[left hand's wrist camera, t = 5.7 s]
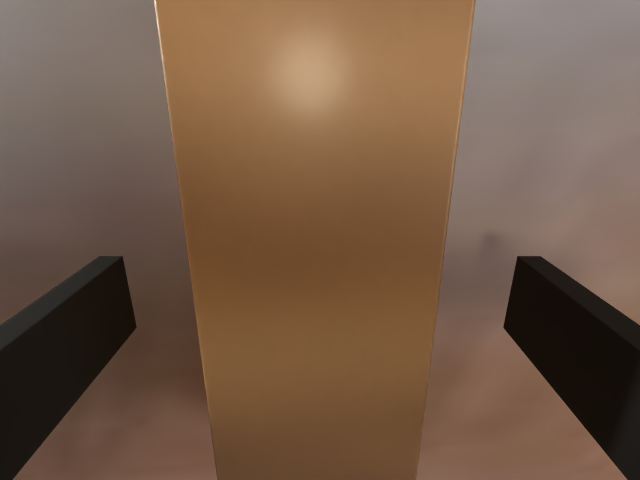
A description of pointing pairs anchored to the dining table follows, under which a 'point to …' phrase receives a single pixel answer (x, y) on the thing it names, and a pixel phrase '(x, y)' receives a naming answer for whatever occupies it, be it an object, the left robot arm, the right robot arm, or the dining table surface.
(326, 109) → the beam
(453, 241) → the dining table surface
